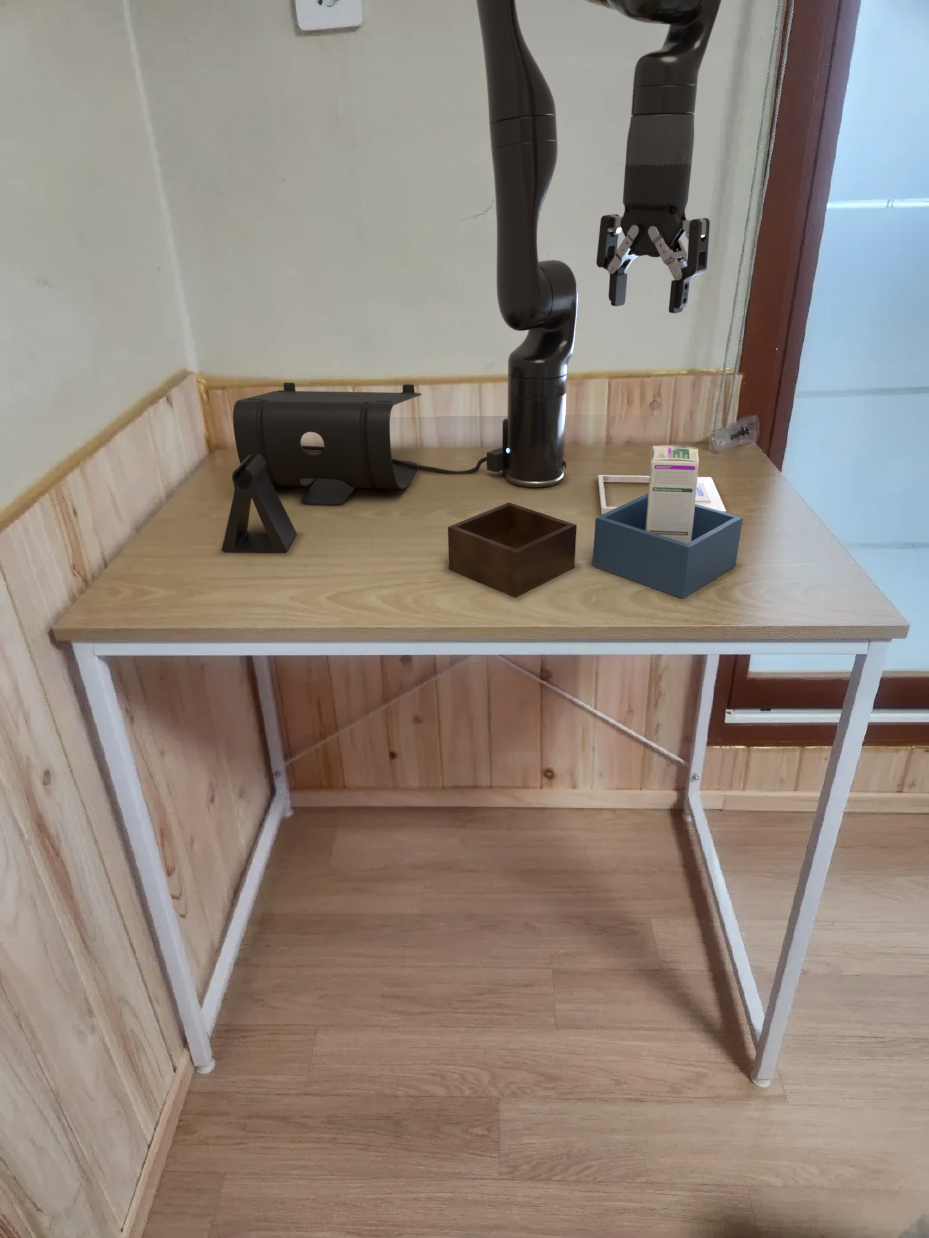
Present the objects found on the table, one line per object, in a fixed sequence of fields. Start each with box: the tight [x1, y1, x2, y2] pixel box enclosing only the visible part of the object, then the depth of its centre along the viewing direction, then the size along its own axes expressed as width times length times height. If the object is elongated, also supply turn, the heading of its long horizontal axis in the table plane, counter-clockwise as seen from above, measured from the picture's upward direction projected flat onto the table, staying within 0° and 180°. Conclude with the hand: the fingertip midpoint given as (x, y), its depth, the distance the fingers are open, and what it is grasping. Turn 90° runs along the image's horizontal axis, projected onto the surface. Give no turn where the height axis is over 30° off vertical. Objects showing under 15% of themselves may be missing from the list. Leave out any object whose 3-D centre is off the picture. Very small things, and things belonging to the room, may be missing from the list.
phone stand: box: [221, 454, 298, 554], centre depth 115 cm, size 9×6×12 cm, turn 86°
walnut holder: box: [447, 502, 578, 598], centre depth 108 cm, size 12×12×6 cm
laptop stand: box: [232, 382, 422, 506], centre depth 136 cm, size 26×24×16 cm
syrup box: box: [645, 444, 700, 544], centre depth 106 cm, size 6×6×14 cm
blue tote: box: [591, 493, 744, 600], centre depth 108 cm, size 14×13×7 cm
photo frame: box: [597, 474, 727, 515], centre depth 131 cm, size 15×1×18 cm
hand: (645, 309), depth 105 cm, fingers open, 8 cm apart
